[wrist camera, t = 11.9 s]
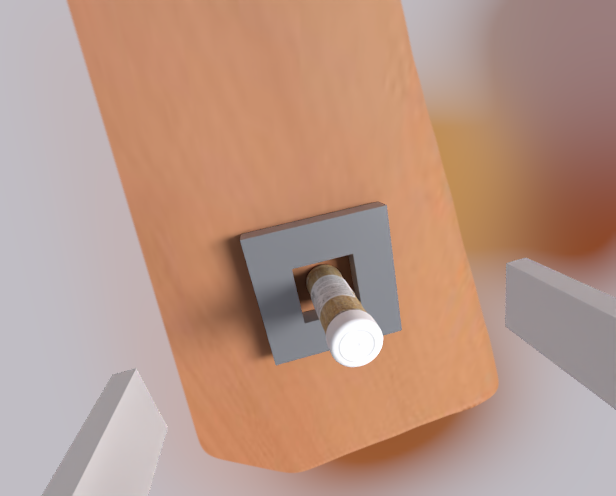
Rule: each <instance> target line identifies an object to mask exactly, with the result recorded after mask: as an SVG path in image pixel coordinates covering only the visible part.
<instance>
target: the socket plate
mask: <svg viewBox="0 0 616 496" xmlns="http://www.w3.org/2000/svg"><path fill="white" fill-rule="evenodd" d="M240 242H241V246H242V249H243V253H244V256H245V260H246V263H247V267H248V270H249V274H250V277H251V281H252V284H253V288H254V291H255V295H256V298H257V301H258V305H259V308H260V312H261V315H262V319H263V322H264V326H265V329H266V333H267V336H268V340H269V343H270V347H271V350H272V354H273V357H274V361H275V364H276V365H279V364H282V363H286V362H289V361H293V360H297V359H300V358H304V357H307V356H311V355H315V354H318V353H322V352H325V351H329V347H328V345H327V342H326V334H325V331H324V329H323V327H322V325H321V323H320V320H319V318H318V315H317V313H316V310H311V311H307V312H304V313H302V310H301V306H300V302H299V297H298V293H297V289H296V285H295V281H294V276H293V272H292V269H294V268H298V267H302V266H306V265H310V264H314V263H318V262H322V261H326V260H330V259H334V258H338V257H342V256H346V255H348V257H349V262H350V268H351V274H352V280H353V286H354V292H355V296H356V297H357V299H358V300H359V302H360V303H361V305H362V306H363V308H364V309H365V311H366V312H367V313H368V314H370V315H371V316H372V317H373V319H374V320H375V321H376V323H377V324H378V326H379V328H380V329H381V331H382V335H386V334H390V333H394V332H397V331H401V330H402V328H401V320H400V311H399V303H398V295H397V286H396V278H395V270H394V262H393V253H392V245H391V237H390V229H389V220H388V212H387V205H385V204H383V203H380V202H374V203H370V204H366V205H361V206H357V207H353V208H349V209H345V210H340V211H336V212H332V213H328V214H324V215H319V216H315V217H311V218H307V219H303V220H298V221H294V222H290V223H286V224H282V225H277V226H273V227H269V228H265V229H260V230H256V231H252V232H248V233H244V234H241V237H240Z"/></svg>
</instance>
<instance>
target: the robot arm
mask: <svg viewBox="0 0 616 496" xmlns="http://www.w3.org/2000/svg"><path fill="white" fill-rule="evenodd" d="M505 316H506V317H505V326H506V327H507V328H508V329H509V330H511V331H512V332H513V333H515V334H516V335H517V336H519V337H520V338H521V339H523V340H524V341H525V342H527V343H528V344H529V345H531V346H532V347H533V348H535V349H536V350H537V351H539V352H540V353H541V354H543V355H544V356H545V357H547V358H548V359H549V360H551V361H552V362H553V363H554V364H556V365H557V366H558V367H560V368H561V369H562V370H564V371H565V372H566V373H568V374H569V375H570V376H572V377H573V378H574V379H576V380H577V381H578V382H580V383H581V384H582V385H584V386H585V387H586V388H588V389H589V390H590V391H592V392H593V393H594V394H596V395H597V396H598V397H600V398H601V399H602V400H603V401H605V402H606V403H608V404H609V405H610V406H612V407H613V408H614V409H615V410H616V298H615V297H613V296H611V295H609V294H606V293H604V292H602V291H600V290H597V289H595V288H593V287H591V286H588V285H586V284H584V283H582V282H579V281H577V280H575V279H572V278H570V277H568V276H566V275H564V274H561V273H559V272H557V271H555V270H552V269H550V268H548V267H545V266H543V265H541V264H539V263H537V262H535V261H532V260H530V259H528V258H523V259H519V260H516V261H512V262H509V263H506V315H505ZM167 429H168V427H167V425H166V423H165V422H164V420H163V418H162V416H161V414H160V412H159V410H158V408H157V406H156V405H155V403H154V401H153V399H152V397H151V395H150V393H149V391H148V389H147V388H146V386H145V384H144V382H143V380H142V378H141V376H140V374H139V372H138V370H137V369H136V368H135V369H132V370H128V371H124V372H121V373H117V374H114V375H112V377H111V378H110V380H109V382H108V383H107V385H106V387H105V388H104V390H103V392H102V393H101V395H100V397H99V399H98V400H97V402H96V404H95V405H94V407H93V409H92V411H91V412H90V414H89V416H88V417H87V419H86V421H85V422H84V424H83V426H82V428H81V429H80V431H79V433H78V434H77V436H76V438H75V440H74V441H73V443H72V445H71V446H70V448H69V450H68V451H67V453H66V455H65V457H64V458H63V460H62V462H61V463H60V465H59V467H58V469H57V470H56V472H55V474H54V475H53V477H52V479H51V480H50V482H49V484H48V485H47V487H46V489H45V491H44V492H43V494H42V496H148V495H149V491H150V488H151V484H152V481H153V477H154V474H155V470H156V467H157V464H158V460H159V457H160V453H161V450H162V446H163V443H164V440H165V436H166V433H167Z"/></svg>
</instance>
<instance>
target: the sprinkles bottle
mask: <svg viewBox="0 0 616 496" xmlns="http://www.w3.org/2000/svg"><path fill="white" fill-rule="evenodd" d="M306 287H307V290H308V292H309V293H310V295H311V300H312V302H313V305H314V308H315V310H316V313H317V315H318V318H319V320H320V323H321V325H322V327H323V329H324V331H325V334H326V342H327V345H328V347H329V350H330V352H331V354H332V356H333V358H334V359H335V360H336V361H337V362H338V363H340V364H342V365H344V366H347V367H359V366H363V365H365V364H367V363H369V362H371V361H372V360H373V359H374V358H375V357H376V356H377V355H378V354H379V352H380V350H381V348H382V344H383V335H382V331H381V329H380V328H379V326H378V324H377V323H376V321H375V320H374V319H373V317H372V316H371V315H370V314H368V313H367V312H366V311H365V309H364V308H363V306H362V305H361V303H360V302H359V300H358V299H357V297H356V296H355V293H354V292H353V291H352V289H351V288H350V286H349V285H348V283H347V282H346V281H345V280H344V279H343V277H342V275H341V273H340V271H339V270H338V269H337V268H335V267H334V266H331V265H319V266H317V267H315V268H314V269H312V270H311V272H310V273H309V274H308V276H307V279H306Z"/></svg>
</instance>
